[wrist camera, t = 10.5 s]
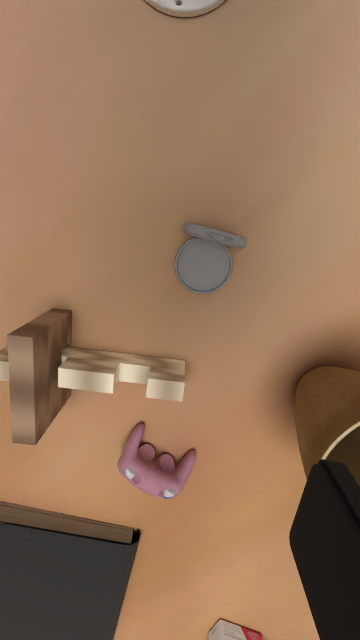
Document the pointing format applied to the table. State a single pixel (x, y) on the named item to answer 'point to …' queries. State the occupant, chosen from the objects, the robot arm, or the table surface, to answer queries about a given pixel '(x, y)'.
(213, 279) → the pocket watch
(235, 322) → the table surface
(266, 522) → the table surface
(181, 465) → the video game controller
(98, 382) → the wooden crenellated block
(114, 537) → the file folder
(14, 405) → the walnut plate
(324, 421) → the plant pot
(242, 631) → the ink box
